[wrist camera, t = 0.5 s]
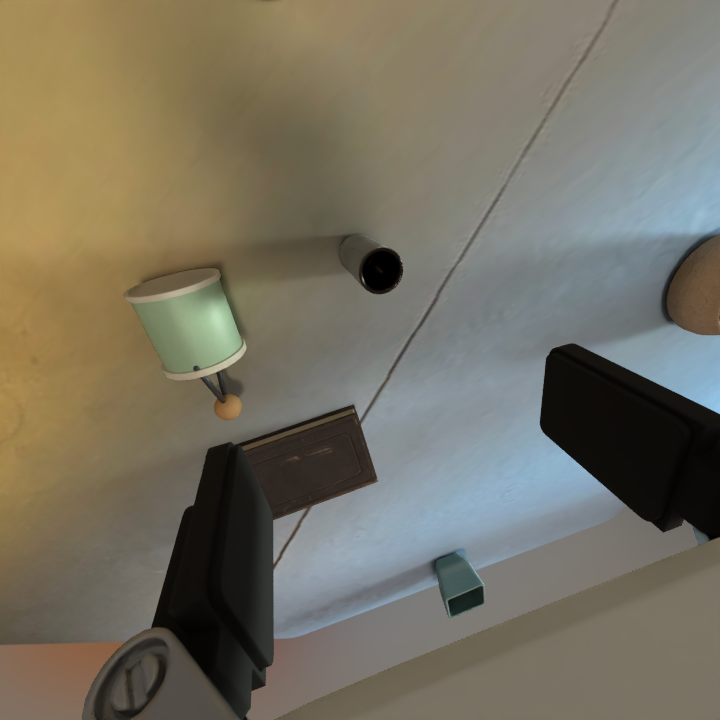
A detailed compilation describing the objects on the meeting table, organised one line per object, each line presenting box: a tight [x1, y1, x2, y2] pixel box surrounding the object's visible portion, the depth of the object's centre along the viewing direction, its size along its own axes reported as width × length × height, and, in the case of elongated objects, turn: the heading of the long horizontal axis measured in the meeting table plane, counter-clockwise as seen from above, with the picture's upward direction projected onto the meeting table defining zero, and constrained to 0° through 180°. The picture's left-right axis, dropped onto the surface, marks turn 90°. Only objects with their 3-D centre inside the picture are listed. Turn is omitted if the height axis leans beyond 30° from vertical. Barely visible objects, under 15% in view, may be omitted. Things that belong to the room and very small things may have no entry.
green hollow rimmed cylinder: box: [124, 268, 246, 420], centre depth 38 cm, size 18×9×9 cm, turn 9°
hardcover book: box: [206, 405, 378, 520], centre depth 53 cm, size 16×23×2 cm
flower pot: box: [436, 553, 486, 618], centre depth 74 cm, size 9×9×9 cm
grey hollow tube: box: [340, 234, 403, 294], centre depth 37 cm, size 4×4×10 cm
